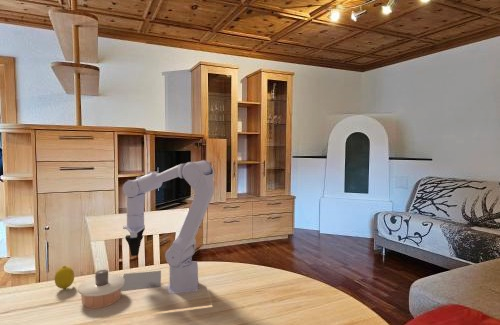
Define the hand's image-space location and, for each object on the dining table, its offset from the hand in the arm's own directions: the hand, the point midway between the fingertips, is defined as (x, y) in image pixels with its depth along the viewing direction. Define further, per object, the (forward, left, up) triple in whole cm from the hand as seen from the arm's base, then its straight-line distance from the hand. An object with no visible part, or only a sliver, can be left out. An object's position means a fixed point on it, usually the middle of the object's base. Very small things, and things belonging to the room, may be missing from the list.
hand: (135, 251), depth 109 cm
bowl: (+9, +12, -10) cm, 18 cm away
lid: (+9, +12, -6) cm, 16 cm away
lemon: (+22, +2, -11) cm, 25 cm away
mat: (-2, +2, -10) cm, 11 cm away
